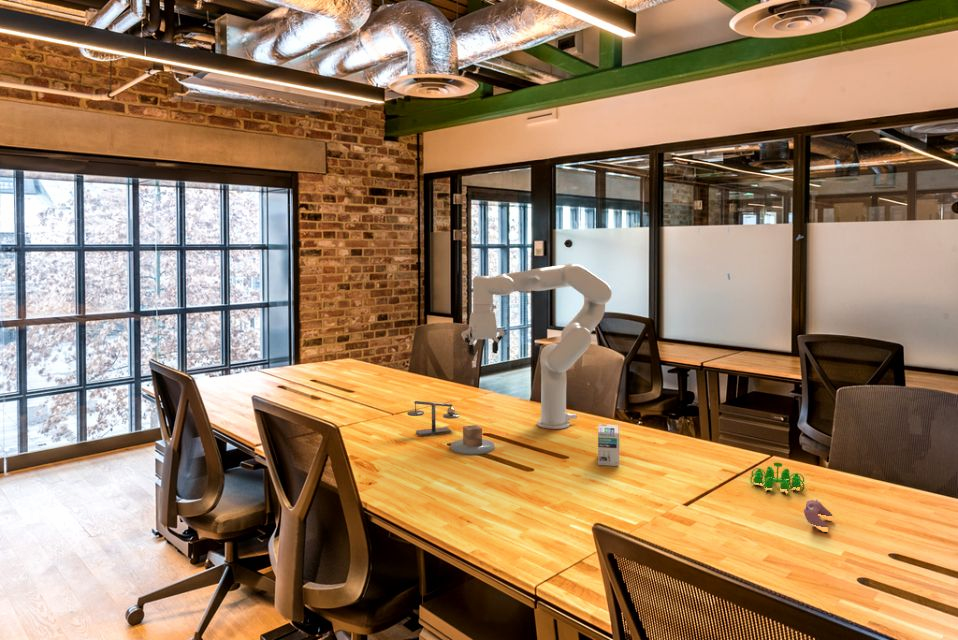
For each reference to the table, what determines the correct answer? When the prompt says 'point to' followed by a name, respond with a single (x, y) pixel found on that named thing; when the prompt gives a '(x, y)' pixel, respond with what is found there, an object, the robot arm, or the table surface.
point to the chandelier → (784, 476)
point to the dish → (463, 449)
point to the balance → (434, 418)
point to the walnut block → (472, 436)
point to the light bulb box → (608, 445)
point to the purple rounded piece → (816, 513)
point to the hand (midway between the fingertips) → (483, 354)
